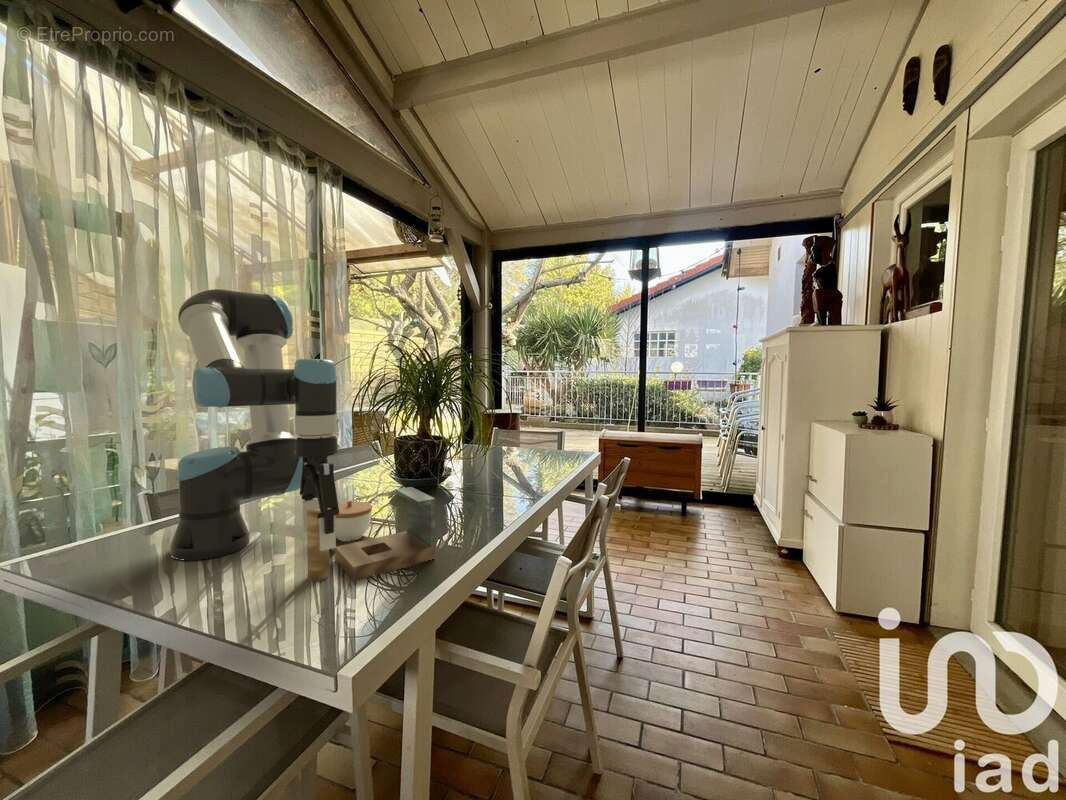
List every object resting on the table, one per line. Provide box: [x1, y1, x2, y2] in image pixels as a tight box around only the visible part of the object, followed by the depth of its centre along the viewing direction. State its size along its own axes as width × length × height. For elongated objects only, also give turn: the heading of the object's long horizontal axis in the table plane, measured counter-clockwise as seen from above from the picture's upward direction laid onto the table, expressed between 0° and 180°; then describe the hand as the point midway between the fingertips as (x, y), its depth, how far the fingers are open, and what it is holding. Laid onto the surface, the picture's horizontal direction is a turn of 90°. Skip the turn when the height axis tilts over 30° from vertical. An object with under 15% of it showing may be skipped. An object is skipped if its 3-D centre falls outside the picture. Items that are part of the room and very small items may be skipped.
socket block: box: [334, 486, 436, 582], centre depth 100 cm, size 18×13×14 cm
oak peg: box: [306, 506, 330, 582], centre depth 91 cm, size 4×4×14 cm
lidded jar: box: [328, 500, 373, 542], centre depth 113 cm, size 11×11×9 cm
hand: (318, 539), depth 90 cm, fingers open, 13 cm apart
